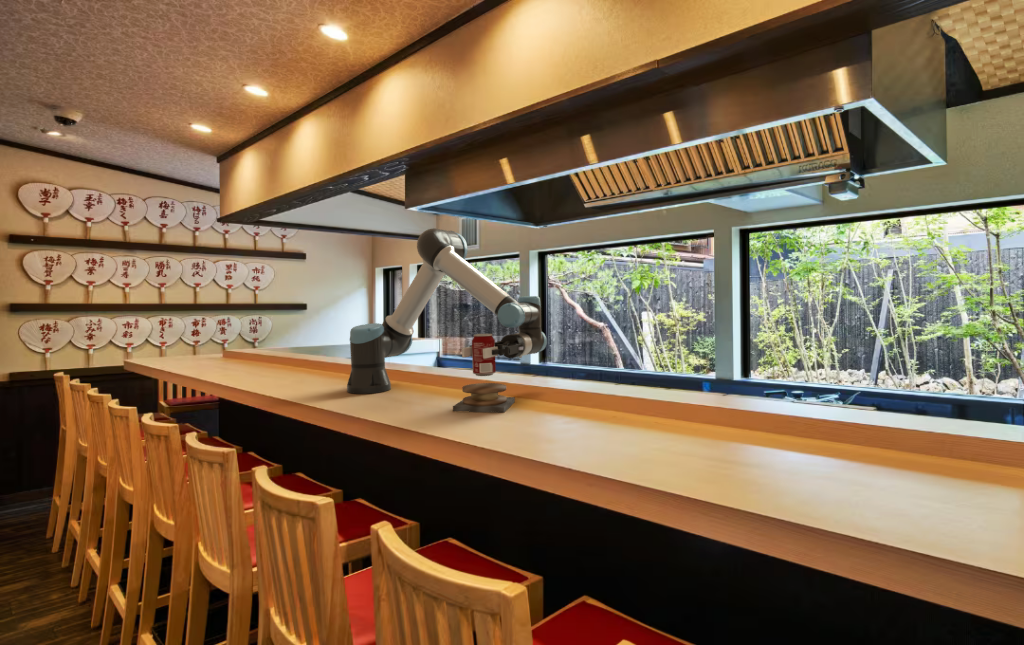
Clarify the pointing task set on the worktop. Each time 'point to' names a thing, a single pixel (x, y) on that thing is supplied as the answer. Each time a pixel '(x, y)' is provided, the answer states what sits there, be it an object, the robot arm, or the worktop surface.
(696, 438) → the worktop surface
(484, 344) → the soda can
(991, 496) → the worktop surface
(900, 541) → the worktop surface
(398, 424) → the worktop surface
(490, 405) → the spool
